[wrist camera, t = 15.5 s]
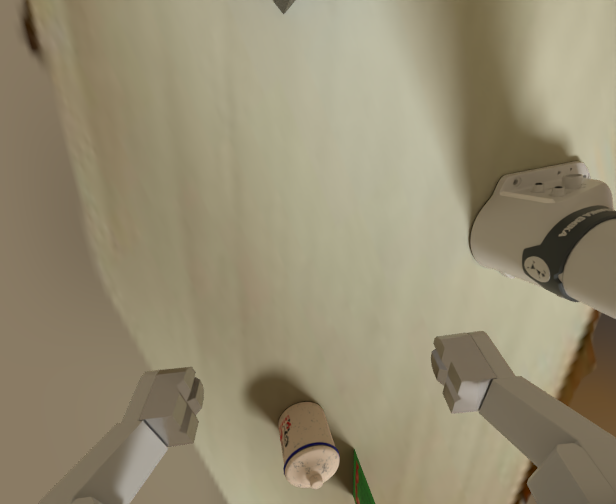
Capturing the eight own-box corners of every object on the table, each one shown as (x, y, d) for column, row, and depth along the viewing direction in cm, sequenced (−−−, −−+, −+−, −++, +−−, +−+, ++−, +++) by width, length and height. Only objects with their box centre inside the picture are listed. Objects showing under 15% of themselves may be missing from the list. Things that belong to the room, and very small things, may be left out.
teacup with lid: (276, 404, 53) (286, 471, 43) (326, 395, 55) (347, 457, 44) (277, 452, 57) (287, 524, 47) (323, 442, 59) (343, 509, 49)
